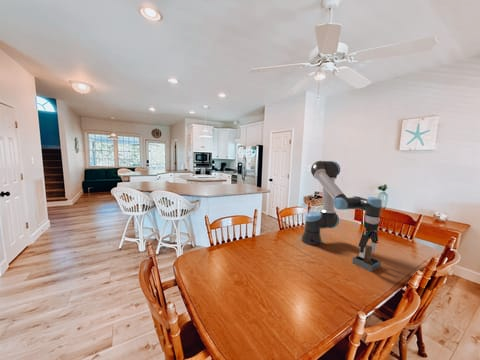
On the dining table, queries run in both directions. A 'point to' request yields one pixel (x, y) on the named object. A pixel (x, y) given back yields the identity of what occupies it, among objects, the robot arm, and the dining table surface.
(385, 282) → the dining table surface
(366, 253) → the curved brown wooden bar
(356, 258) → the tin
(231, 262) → the dining table surface
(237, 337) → the dining table surface
